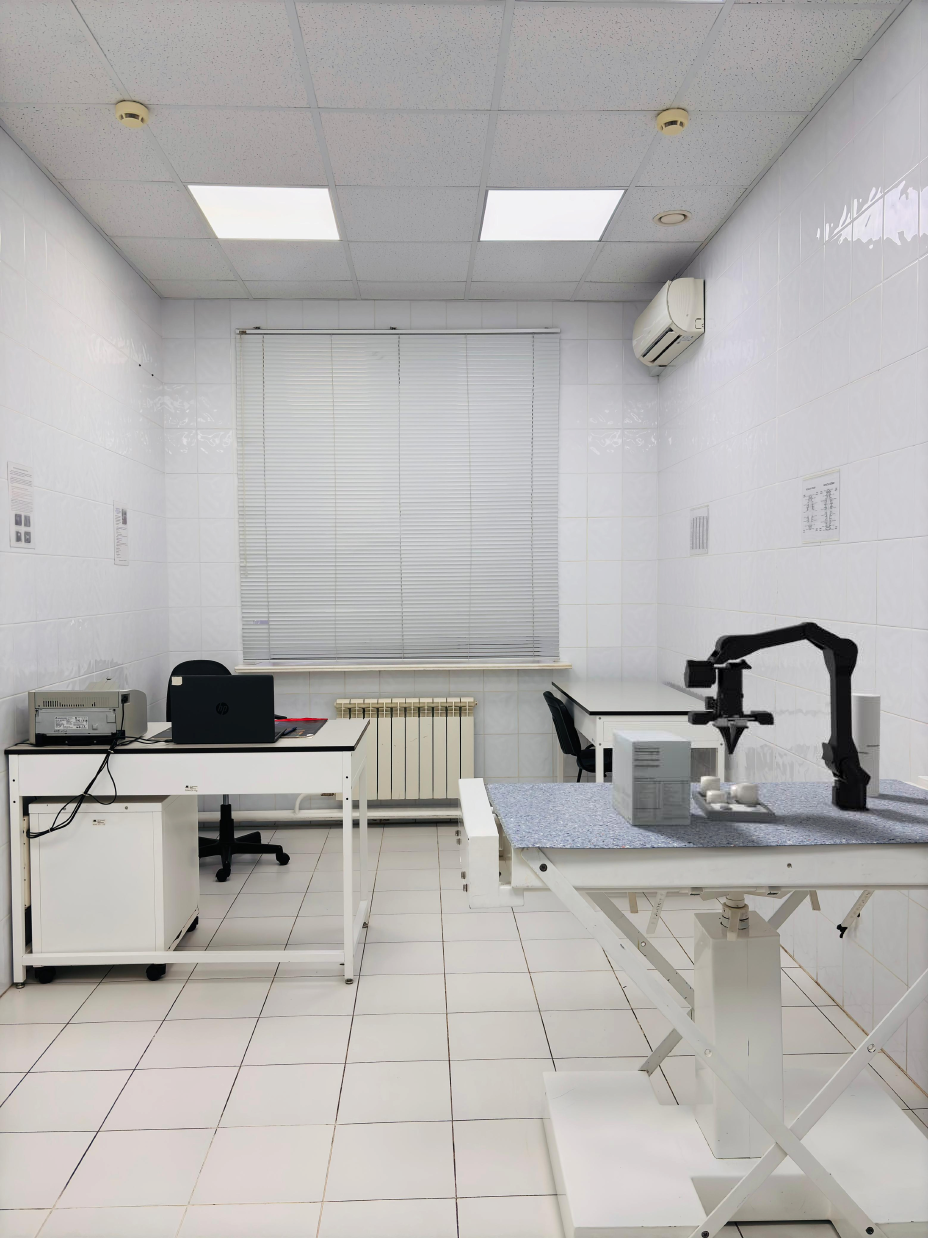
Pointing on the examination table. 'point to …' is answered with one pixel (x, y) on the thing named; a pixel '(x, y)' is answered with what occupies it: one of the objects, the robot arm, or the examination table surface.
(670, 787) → the supplement box
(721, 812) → the button board
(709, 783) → the button
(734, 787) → the button
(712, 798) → the button
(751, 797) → the button
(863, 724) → the cylindrical container
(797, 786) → the examination table surface
